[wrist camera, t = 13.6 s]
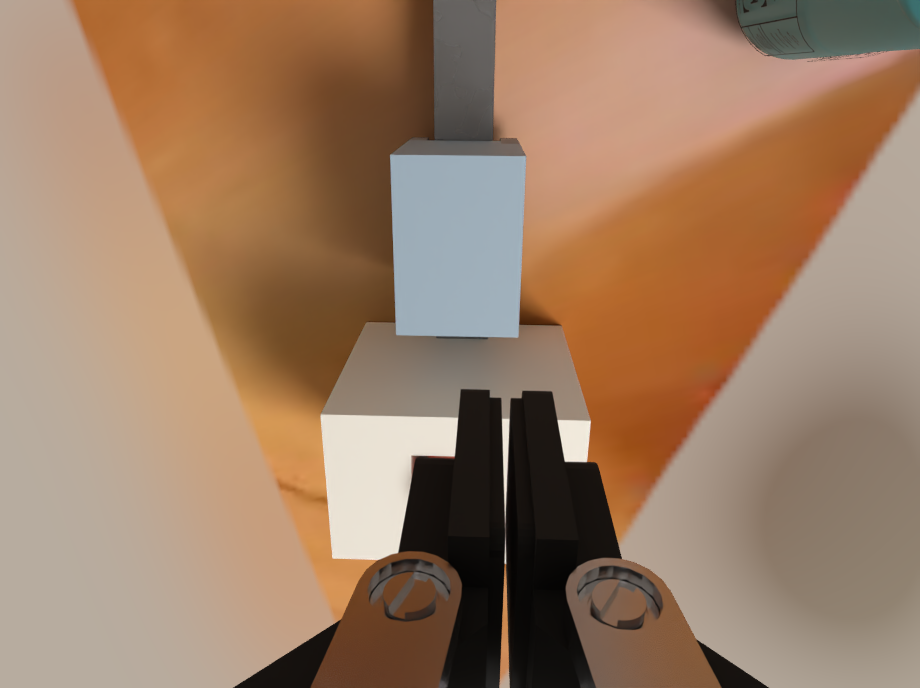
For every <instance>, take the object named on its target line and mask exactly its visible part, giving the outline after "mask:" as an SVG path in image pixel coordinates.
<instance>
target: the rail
mask: <svg viewBox="0 0 920 688" xmlns="http://www.w3.org/2000/svg"><path fill="white" fill-rule="evenodd" d="M433 14H434V135H435V140H443V141H493V109H494V67H495V25H496V0H433ZM436 338H445V339H488V337H459V336H436Z"/></svg>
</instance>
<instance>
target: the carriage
mask: <svg viewBox="0 0 920 688" xmlns="http://www.w3.org/2000/svg"><path fill="white" fill-rule="evenodd" d="M390 165H391V196H392V226H393V256H394V286H395V317H396V335H407V336H459V337H511V338H518V335H519V311H520V288H521V264H522V241H523V217H524V194H525V170H526V155H525V153H524V151H523V149H522V147H521V145H520V143H519V142H518V140H517V138H500V141H443V140H429V138H419V137H412V138H411V139H410V140H408V141H407V142H406V143H405V144H403V145H402V146H401V147H399V148H398V149H397V150H396V151H394V152H393V153H392V154H391V155H390Z"/></svg>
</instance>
